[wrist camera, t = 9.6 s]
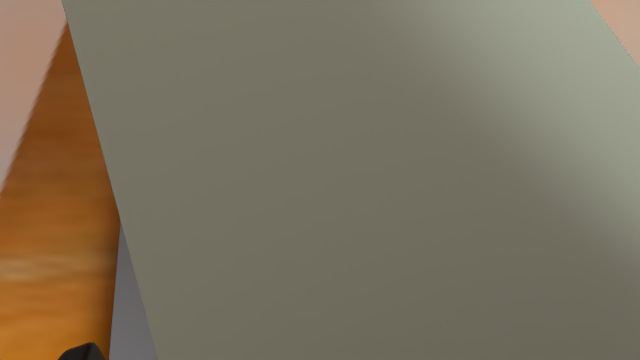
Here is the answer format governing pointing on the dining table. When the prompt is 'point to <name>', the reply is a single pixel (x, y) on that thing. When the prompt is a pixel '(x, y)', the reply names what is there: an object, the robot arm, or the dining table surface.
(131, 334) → the plinth
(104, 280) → the dining table surface
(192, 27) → the sage block
